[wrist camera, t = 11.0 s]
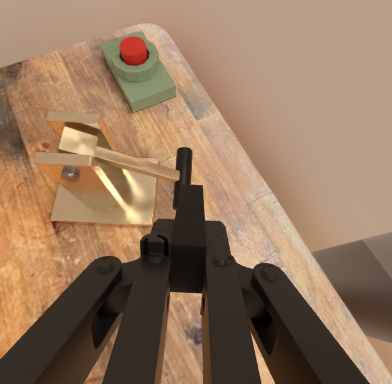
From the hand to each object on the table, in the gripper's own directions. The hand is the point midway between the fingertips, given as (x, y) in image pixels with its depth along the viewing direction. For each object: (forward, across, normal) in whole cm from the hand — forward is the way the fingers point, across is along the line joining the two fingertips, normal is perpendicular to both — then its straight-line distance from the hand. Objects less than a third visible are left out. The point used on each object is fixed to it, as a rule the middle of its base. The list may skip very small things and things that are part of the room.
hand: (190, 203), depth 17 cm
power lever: (+9, +6, +1) cm, 11 cm away
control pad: (+28, +9, -7) cm, 31 cm away
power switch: (+15, +10, +6) cm, 19 cm away
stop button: (+26, +9, -10) cm, 29 cm away
